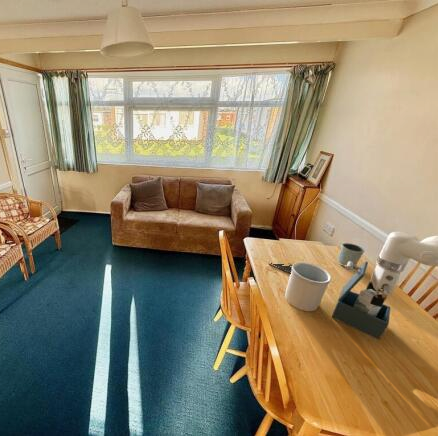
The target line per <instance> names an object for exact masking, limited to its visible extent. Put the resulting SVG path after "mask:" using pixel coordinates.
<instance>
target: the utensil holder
mask: <svg viewBox="0 0 438 436" xmlns="http://www.w3.org/2000/svg"><path fill="white" fill-rule="evenodd" d="M292 265H293V266H292V271H291V274H290V273H289V278H288V281H287V284H286V288H285V292H284V293H285V294H284V297H285V300H286V301H287V302H288V303H289V304H290V305H291V306H292V307H294V308H296V309H298V310H301V311H304V312H314V311H316V310H317V309H318V308H319V306H320V303H321V301H322V300H323V297H324V295H325V293H326V290H327V288H328V286H329V284H330V283H331V281H332V275H331V274H330V272H329V271H328V270H326V269H324V268H323V267H321V266H319V265H316V264H315V263H311V262H304V261H299V262H295V263H293V264H292Z"/></svg>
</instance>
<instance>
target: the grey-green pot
mask: <svg viewBox="0 0 438 436" xmlns="http://www.w3.org/2000/svg"><path fill="white" fill-rule="evenodd" d="M364 253H365V248H363V247H361V246H360V245H357V244H355V243H350V242H349V243H348V242H344V243H342V244H341V248H340V251H339V253H338V254H339V255H338V257H337V260H338V261H339V262H340V263H341V264H343V265H346V266H347V263H348V262H349V261H351V262H353V264H355V265H357V266H358V262H359V260H360V259H361V258H362V256H363V254H364ZM352 267H354V266H352Z"/></svg>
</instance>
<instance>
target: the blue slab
mask: <svg viewBox="0 0 438 436" xmlns="http://www.w3.org/2000/svg"><path fill="white" fill-rule="evenodd" d="M368 264H369V261H364V263H362V264H361V266H359V265H358V264H357V265H355V264H353V262H351V261H349V262H348V263H347V266H346V268H345V269H346V270H347V271H352V272H354V274H353V275H352V276H351V277H350V279H349V280H348V281H347V282H346V283H345V285H343V286H342V289H341V291H340V294H339V296H338V299H337V302H338V301H339V302H340V301H341V300H342V299H343V298H344V297H345V296H346V295H347V294H348V293H349V292H350V291H352V290H353V289H354V288H355V286H356V285H358V283H359V282H360V281H362V279H363V278H364V277H365V275H366V271H367V268H368ZM352 266H354V267H355V268H356V269H355V268H352Z"/></svg>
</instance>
